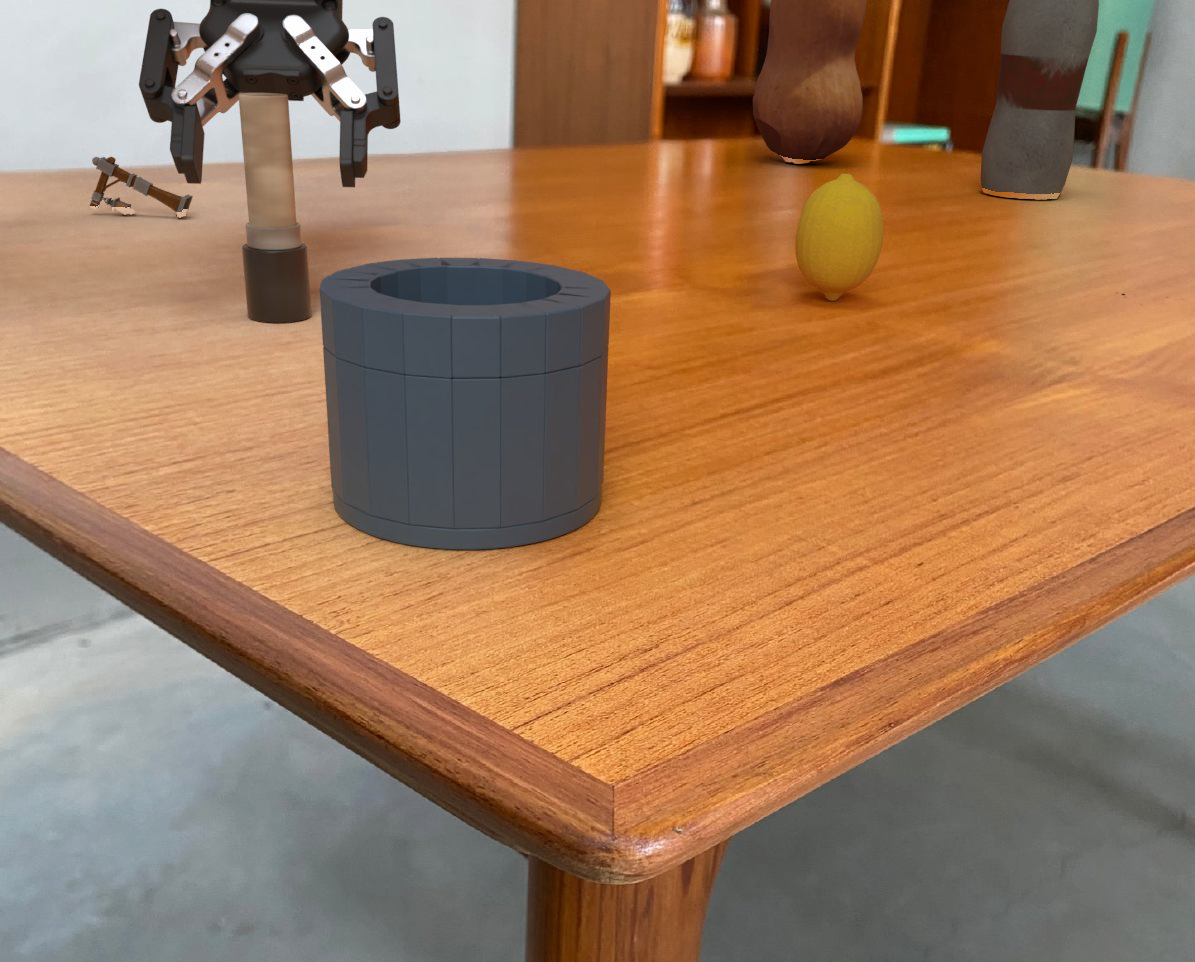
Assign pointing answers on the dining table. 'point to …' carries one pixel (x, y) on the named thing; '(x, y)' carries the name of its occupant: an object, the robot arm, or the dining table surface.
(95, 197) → the wooden post with brackets
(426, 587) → the dining table surface
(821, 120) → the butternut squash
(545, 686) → the dining table surface
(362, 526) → the grey paneled mortar
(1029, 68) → the grey vase with band
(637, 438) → the dining table surface
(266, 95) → the tan cylinder
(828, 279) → the lemon
